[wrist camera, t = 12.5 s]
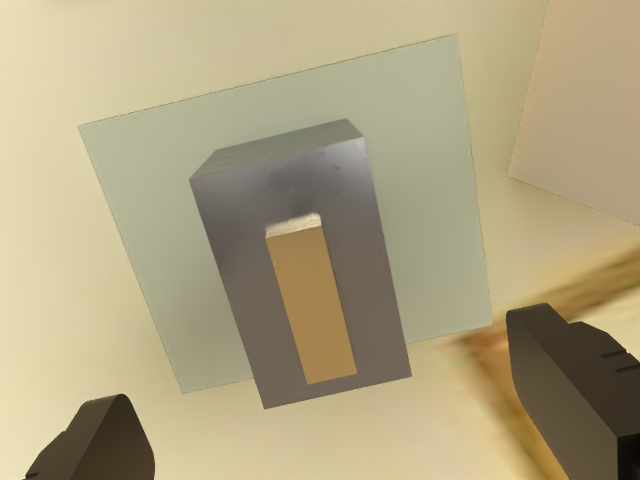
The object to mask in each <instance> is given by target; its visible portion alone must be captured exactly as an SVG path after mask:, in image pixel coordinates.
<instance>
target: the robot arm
mask: <svg viewBox="0 0 640 480" xmlns="http://www.w3.org/2000/svg"><path fill="white" fill-rule="evenodd" d="M506 324H507V333H508V342H509V351H510V360H511V370H512V377H513V381H514V385H515V389H516V391H517V394H518V397H519V399H520V401H521V403H522V405H523V407H524V408H525V410H526V411H527V413H528V415H529V416H530V418H531V419H532V421H533V422H534V424H535V426H536V427H537V429H538V430H539V432H540V434H541V435H542V437H543V438H544V440H545V441H546V443H547V445H548V446H549V448H550V449H551V451H552V452H553V454H554V456H555V457H556V459H557V460H558V462H559V463H560V465H561V467H562V468H563V470H564V471H565V473H566V474H567V476H568V478H569V479H570V480H640V362H639V361H638V360H637V359H636V358H635V357H634V356H632V355H631V354H630V353H627V352H626V349H625V348H624V347H622V346H621V345H620V344H619V343H618V342H617V341H616V340H615V339H614V338H612V337H611V336H610V335H609V334H608V333H606V332H604V331H602V330H600V329H597V328H595V327H593V326H591V325H588V324H586V323H584V322H582V321H580V322H575V323H571V324H568V323H567V322H566V321H565V320H564V319H563V318H562V317H561V316H560V315H559V314H558V313H557V312H556V311H555V310H554V309H553V308H552V307H551V306H550V305H549V304H547V303H542V304H537V305H532V306H528V307H523V308H518V309H514V310H509V311H508V312H507V314H506ZM154 474H155V461H154V454H153V451H152V448H151V446H150V444H149V441H148V439H147V437H146V435H145V432H144V430H143V428H142V426H141V423H140V421H139V419H138V417H137V414H136V412H135V410H134V408H133V405H132V403H131V401H130V400H129V398H128V397H127V396H126V395H124V394H118V395H113V396H109V397H104V398H99V399H95V400H90V401H87V402H85V403H84V404H83V405H82V406H81V407H80V409H79V410H78V412H77V414H76V415H75V417H74V418H73V420H72V421H71V423H70V425H69V426H68V428H67V429H66V431H62V432H61V433H60V434H59V435H58V436H57V437H56V438H55V439H54V440H53V441H52V442H51V443H50V444H49V445H48V446H47V447H46V448H45V449H43V450H42V451H41V452H40V454H39V455H38V457H37V458H36V460H35V461H34V463H33V464H32V466H31V467H30V469H29V470H28V472H27V473H26V475H25V476H26V478H25V479H23V480H154Z"/></svg>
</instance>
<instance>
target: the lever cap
mask: <svg viewBox="0 0 640 480" xmlns="http://www.w3.org/2000/svg"><path fill="white" fill-rule="evenodd" d="M188 180H189V183H190V186H191V189H192V192H193V195H194V198H195V201H196V204H197V207H198V210H199V213H200V216H201V219H202V222H203V225H204V228H205V231H206V234H207V237H208V240H209V243H210V246H211V249H212V252H213V255H214V258H215V261H216V264H217V267H218V270H219V273H220V276H221V279H222V282H223V286H224V289H225V292H226V295H227V298H228V301H229V304H230V307H231V310H232V313H233V316H234V319H235V322H236V325H237V328H238V331H239V334H240V337H241V340H242V343H243V346H244V349H245V352H246V355H247V358H248V361H249V364H250V367H251V370H252V373H253V376H254V379H255V382H256V385H257V388H258V391H259V394H260V397H261V400H262V403H263V406H264V409H268V408H273V407H277V406H282V405H286V404H291V403H295V402H299V401H304V400H308V399H313V398H317V397H322V396H326V395H331V394H335V393H340V392H344V391H349V390H353V389H358V388H362V387H367V386H371V385H376V384H380V383H385V382H389V381H394V380H398V379H403V378H407V377H412V374H411V369H410V364H409V359H408V354H407V349H406V344H405V339H404V334H403V329H402V324H401V319H400V314H399V309H398V304H397V299H396V294H395V289H394V284H393V279H392V274H391V269H390V264H389V259H388V254H387V249H386V244H385V239H384V234H383V229H382V224H381V219H380V214H379V209H378V204H377V199H376V194H375V189H374V184H373V179H372V174H371V169H370V164H369V159H368V154H367V149H366V144H365V139H364V136H363V135H362V134H361V133H360V132H359V131H358V130H357V129H356V128H355V126H354V125H353V124H352V123H351V122H350V121H349V120H348V119H347V118H345V119H341V120H336V121H332V122H328V123H324V124H320V125H316V126H312V127H308V128H304V129H299V130H295V131H291V132H287V133H283V134H279V135H275V136H271V137H267V138H262V139H258V140H254V141H250V142H246V143H242V144H238V145H234V146H229V147H225V148H221V149H217V150H215V151H214V152H213V153H212V155H211V156H210V157H209V158H208V159H207V160H206V161H205V162H204V163H203V164H202V165H201V166H200V167H199V168H198V169H197V171H196V172H195V173H194V174H193V175H192V176H191V177H190V178H189V179H188Z"/></svg>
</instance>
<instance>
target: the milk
mask: <svg viewBox="0 0 640 480" xmlns="http://www.w3.org/2000/svg"><path fill="white" fill-rule="evenodd" d="M507 176H510V177H512V178H515V179H518V180H520V181H523V182H525V183H528V184H531V185H533V186H536V187H538V188H541V189H544V190H546V191H549V192H552V193H554V194H557V195H559V196H562V197H565V198H567V199H570V200H572V201H575V202H578V203H580V204H583V205H586V206H588V207H591V208H593V209H596V210H599V211H601V212H604V213H606V214H609V215H612V216H614V217H617V218H620V219H622V220H625V221H627V222H630V223H633V224H635V225H638V226H640V0H549V3H548V8H547V12H546V16H545V20H544V24H543V28H542V33H541V37H540V41H539V45H538V49H537V54H536V58H535V62H534V66H533V70H532V75H531V79H530V83H529V87H528V91H527V96H526V100H525V104H524V108H523V112H522V116H521V121H520V125H519V129H518V133H517V137H516V142H515V146H514V150H513V154H512V158H511V163H510V167H509V171H508V175H507Z"/></svg>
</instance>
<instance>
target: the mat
mask: <svg viewBox="0 0 640 480" xmlns="http://www.w3.org/2000/svg"><path fill="white" fill-rule="evenodd" d="M345 118H347V119H348V120H349V121H350V122H351V123H352V124H353V125H354V126H355V128H356V129H357V130H358V131H359V132H360V133H361V134H362V135H363V136H364V139H365V144H366V149H367V154H368V159H369V164H370V169H371V174H372V179H373V184H374V189H375V194H376V199H377V204H378V209H379V214H380V219H381V224H382V229H383V234H384V239H385V244H386V249H387V254H388V259H389V264H390V269H391V274H392V279H393V284H394V289H395V294H396V299H397V304H398V309H399V314H400V319H401V324H402V329H403V334H404V339H405V344H410V343H414V342H419V341H423V340H428V339H432V338H437V337H441V336H446V335H450V334H455V333H459V332H464V331H468V330H473V329H477V328H482V327H486V326H491V325H493V324H492V316H491V308H490V300H489V292H488V283H487V275H486V267H485V259H484V251H483V243H482V234H481V226H480V218H479V210H478V202H477V193H476V185H475V177H474V169H473V161H472V153H471V144H470V136H469V128H468V120H467V112H466V103H465V95H464V87H463V79H462V71H461V63H460V54H459V46H458V38H457V34H455V35H450V36H445V37H441V38H437V39H433V40H429V41H425V42H421V43H417V44H412V45H408V46H404V47H400V48H396V49H392V50H388V51H384V52H380V53H375V54H371V55H367V56H363V57H359V58H355V59H351V60H347V61H343V62H338V63H334V64H330V65H326V66H322V67H318V68H314V69H310V70H306V71H301V72H297V73H293V74H289V75H285V76H281V77H277V78H273V79H269V80H264V81H260V82H256V83H252V84H248V85H244V86H240V87H236V88H232V89H227V90H223V91H219V92H215V93H211V94H207V95H203V96H199V97H194V98H190V99H186V100H182V101H178V102H174V103H170V104H166V105H162V106H157V107H153V108H149V109H145V110H141V111H137V112H133V113H129V114H125V115H120V116H116V117H112V118H108V119H104V120H100V121H96V122H92V123H88V124H84V125H80V126H78V129H79V131H80V134H81V136H82V139H83V142H84V144H85V147H86V149H87V152H88V154H89V157H90V159H91V162H92V165H93V167H94V170H95V172H96V175H97V177H98V180H99V182H100V185H101V187H102V190H103V193H104V195H105V198H106V200H107V203H108V205H109V208H110V210H111V213H112V216H113V218H114V221H115V223H116V226H117V228H118V231H119V233H120V236H121V239H122V241H123V244H124V246H125V249H126V251H127V254H128V256H129V259H130V261H131V264H132V267H133V269H134V272H135V274H136V277H137V279H138V282H139V284H140V287H141V290H142V292H143V295H144V297H145V300H146V302H147V305H148V307H149V310H150V312H151V315H152V318H153V320H154V323H155V325H156V328H157V330H158V333H159V335H160V338H161V341H162V343H163V346H164V348H165V351H166V353H167V356H168V358H169V361H170V364H171V366H172V369H173V371H174V374H175V376H176V379H177V381H178V384H179V386H180V389H181V392H182V394H185V393H189V392H194V391H198V390H203V389H207V388H212V387H216V386H221V385H225V384H230V383H234V382H239V381H243V380H248V379H252V378H254V376H253V373H252V370H251V367H250V364H249V361H248V358H247V355H246V352H245V349H244V346H243V343H242V340H241V337H240V334H239V331H238V328H237V325H236V322H235V319H234V316H233V313H232V310H231V307H230V304H229V301H228V298H227V295H226V292H225V289H224V286H223V282H222V279H221V276H220V273H219V270H218V267H217V264H216V261H215V258H214V255H213V252H212V249H211V246H210V243H209V240H208V237H207V234H206V231H205V228H204V225H203V222H202V219H201V216H200V213H199V210H198V207H197V204H196V201H195V198H194V195H193V192H192V189H191V186H190V183H189V180H188V179H189V178H190V177H191V176H192V175H193V174H194V173H195V172H196V171H197V169H198V168H199V167H200V166H201V165H202V164H203V163H204V162H205V161H206V160H207V159H208V158H209V157H210V156H211V155H212V153H213V152H214V151H215V150H217V149H221V148H225V147H229V146H234V145H238V144H242V143H246V142H250V141H254V140H258V139H262V138H267V137H271V136H275V135H279V134H283V133H287V132H291V131H295V130H299V129H304V128H308V127H312V126H316V125H320V124H324V123H328V122H332V121H336V120H341V119H345Z"/></svg>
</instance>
